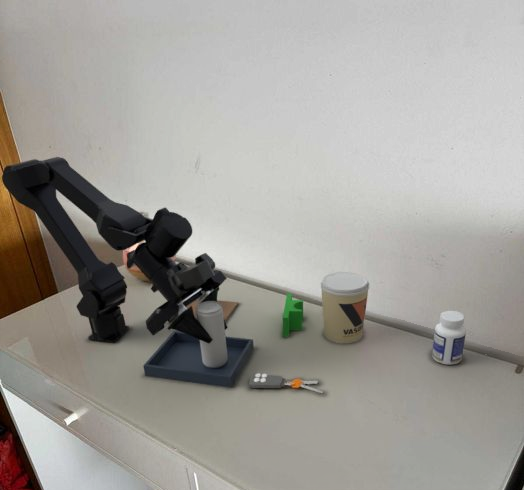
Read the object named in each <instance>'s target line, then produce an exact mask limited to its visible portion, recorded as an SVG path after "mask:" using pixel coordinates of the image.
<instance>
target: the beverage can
mask: <svg viewBox="0 0 524 490" xmlns="http://www.w3.org/2000/svg"><path fill="white" fill-rule="evenodd" d="M196 316H197V320H198V322H199V323H200V324H201V325H202V326H203V328H204V329H205V330H206V331H207V332H208V334H209V335H210V337H211V338H212V342H210V343H206V342H204V341H202V340H200V346H201V353H202V361H203V364H204V365H205V366H207V367H209V368H219V367H222V366H223V365H225V363H226V362H227V359H228V357H227V348H226V338H225V336H226V330H225V328H224V318H223V309H222V306H221V304H220V303H219V302H216V301H206V302H203V303H200V304H199V305H197V307H196Z"/></svg>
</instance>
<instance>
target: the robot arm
mask: <svg viewBox="0 0 524 490" xmlns="http://www.w3.org/2000/svg"><path fill="white" fill-rule="evenodd" d="M1 181H2V184H3V185H4V188H5V189H6V190H7V191H8V193H10V195H12V197H13V198H14V199H15V201H17V202H18V203H19V204H21V205H23V206H24V207H26V208H28V209H29V210H32V211H34V213H35V214H36V216H37V218H38V219H39V220H40V221H41V223H42V224H43V226H44V227H45V228H46V230H47V231H48V233H49V235H51V238H53V239H54V241H55V243H56V244H57V245H58V247H59V249H60V250H61V251H62V253H63V254H64V256H65V257H66V259H67V260H68V261H69V263H70V265H71V266H72V267H73V269H74V271H75V272H76V273H77V282H78V289H79V292H80V293H81V295H82V297H81V298H80V299H79V302H78V303H77V305H76V306H75V308H76V309H77V311H78V313H79V315H80V316H81V317H84V318H87V319H88V323H89V327H90V330H91V334H90V335H89V336H88V337H87V339H88V340H89V341H95V342H104V343H113V344H114V343H116V342H117V341H118V340H119V339H120V338H121V337H123V335H124V334H125V333H127V332H128V330H130V326H129V325H126V320H125V315H124V313H122V310H121V305H122V304H125V303H126V296H127V288H128V285H127V282H126V281H125V279H126V278H125V276H124V275H123V274H122V273H121V272H120V270H119V269H118V267H117V265H116V264H115V263H114V262H112V261H110V262H109V263H106V262H104V261H102V260H100V259H99V258H98V256H97V255H96V253H95V252H94V250H93V249H92V247H91V246H90V245H89V243H88V242H87V240H86V239H85V236H83V235H82V233H81V231H80V229H79V228H78V227H77V225H76V224H75V222H74V221H73V220H72V218H71V217H70V215H69V214H68V212H67V211H66V209H65V208H64V206H63V205H62V204H61V202H60V201H59V199H58V197H57V192H58V193H59V194H61V195H62V196H63V197H64V198H66V199H67V201H69V202H71V203H72V204H73V205H74V206H75V207H77V209H79V210H80V211H81V212H82V213H84V214H85V215H86V216H87V217H88V218H89V219H91V220H92V221H93V222H94V223H95V225H96V229H97V232H98V235H99V236H100V237H101V238H102V239H103V240H104V241H105V242H106V243H107V244H108V245H109V246H110V247H111V248H112V249H114V250H115V251H118V252H119V251H123V250H125V249H127V248H129V247H132V246H134V245H136V244H138V243H140V242H142V241H144V240H145V241H146V242H145V243H141V244H139V245H138V246H137V248H136V249H135V250H133V251H131V252H129V253H127V254H126V255H127V268H131V267H133V266H135V265H136V266H137V267H138V268H139V269H140V270H141V271H142V273H143V274H144V275H145V276H146V277H147V278H148V279H149V281H150V282H149V283H151V284H152V286H151V287H150V290H151V291H152V293H153V294H154V293H156V292H158V293H160V294H161V296H162V297H163V298H164V299H165V300H166V301H165V302H164V303H162V304H161V305H160V306H158V307H156V308H155V310H154V311H153V312H152V313H151V314H150V315H149V316H148V318H147V319H146V320H145V325H146V329H147V330H148V332H150V334H151V335H152V336H155V335H157V334H159V332H161V331H162V330H164V329H165V324H166V323H168V324H169V325H168V327H167V328H166V330H168V331H170V330H173V331H180V332H183V333H185V334H188V335H190V336H193V337H195V338H197V339H199V340H202V341H204V342H206V343H210V342H212V338H211V337H210V335H209V334H208V332H207V331H206V330H205V329H204V328H203V326H202V325H201V324H200V323H199V322H198V320H197V319H196V318H195V317H194V313H193V308H192V306H191V307H189V308H188V309H187V308H186V307H187V306H188V305H190V304H191V303H192V302H194V301H196V302H197V303H198V304H200V303H203V302H206V301H216V302H218V301H219V300H218V292H219V291H220V286H221V285H222V284H223V283H224V282H225V281H226V280H227V276H225V274H224V273H223V272H222V271H221V270H218V269H215V268H216V262H215V261H214V260H213V258H212V257H211V256H210V255H208V253H207V252H204V253H201V254H200V255H198V256H196V257H194V262H195V263H193V264H192V265H189V266H187V265H186V264H185V263H184V262H182V261H180V262H178V263H177V262H174V260H173V259H172V258H171V257H174V256H175V255H176V256H177V254H178V253H179V251H181V249H182V248H183V246H184V245H185V244H186V243H187V241H188V240H189V239H190V238H191V237H192V235H193V226H192V224H191V222H190V221H189V220H188V219H187V217H185V216H182V215H181V214H179V213H177V212H174V211H170V210H169V209H168V208H167V207H165V206H164V207H162V208H159V209H158V210H157V211H156V212H155V214H154V216H153V218H150V217H149V218H146V217H144V216H143V215H142V214H141V213H139V212H140V211H138V210H136V209H134V208H133V207H131V206H130V205H127V204H123V203H120V202H116V201H114V200H112V199H110V198H109V197H108V196H107V195H106V194H104V193H103V192H102V191H101V190H100V189H98V188H97V187H96V186H95V185H93V184H92V183H91V182H90V181H88V180H87V179H86V178H85V177H84V176H82V175H81V174H80V173H79V172H78V171H76V170H75V169H74V168H73V167H71V166H70V164H69V162H68V160H67V159H65V158H64V157H60V156H54V157H51V158H47V159H43V160H39V159H37V158H34V159H33V158H32V159H29V160H25V161H21V162H17V163H13V164H9V165H6V166H5V167H4V168H3V171H2V175H1ZM223 318H224V317H223ZM224 328H225V331H226V330H227V329H228V325H227V323H226V321H225V320H224Z"/></svg>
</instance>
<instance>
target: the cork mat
mask: <svg viewBox="0 0 524 490" xmlns="http://www.w3.org/2000/svg"><path fill="white" fill-rule="evenodd" d="M217 301H218V302H219V303H220V304H221V306H222V309H223V317H224V320H225V322H226V321H227V320H228V319H229V317H230V316H231V315H232V313H233V312H234V310H235V309H236V308H237V307H238V305H239V302H238V301H228V300H227V301H226V300H217ZM197 305H199V304H198V303H197V302H196V301H194V302H192V303H191V304H190V305H188V306H187V307H186V308H187V309H188V308H189V307H191V306H192V308H193V313H194V317H195V318H196V319H197V316H196V307H197Z"/></svg>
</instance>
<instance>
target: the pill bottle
mask: <svg viewBox="0 0 524 490" xmlns="http://www.w3.org/2000/svg"><path fill="white" fill-rule="evenodd" d="M464 323H465V316H464V314H463V313H461V312H459V311H456V310H445V311H443V312H441V313H440V317H439V323H437V324H436V325H435V328H434V335H433V342H432V350H431V356H432V359H433V360H434V361H435V362H437V363H439V364H443V365H448V366H450V365H451V366H452V365H456V364H459V363H460V362H462V360H463V352H464V347H465V340H466V336H467V329H466V327H465V325H464Z"/></svg>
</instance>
